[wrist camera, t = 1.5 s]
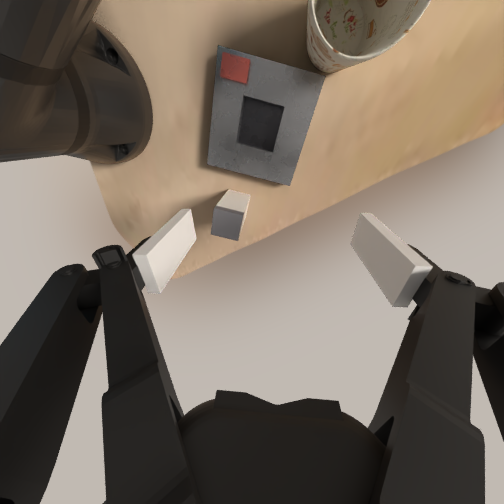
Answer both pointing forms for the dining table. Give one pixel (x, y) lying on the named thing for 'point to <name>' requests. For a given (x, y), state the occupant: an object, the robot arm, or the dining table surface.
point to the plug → (230, 215)
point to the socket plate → (260, 115)
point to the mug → (357, 29)
